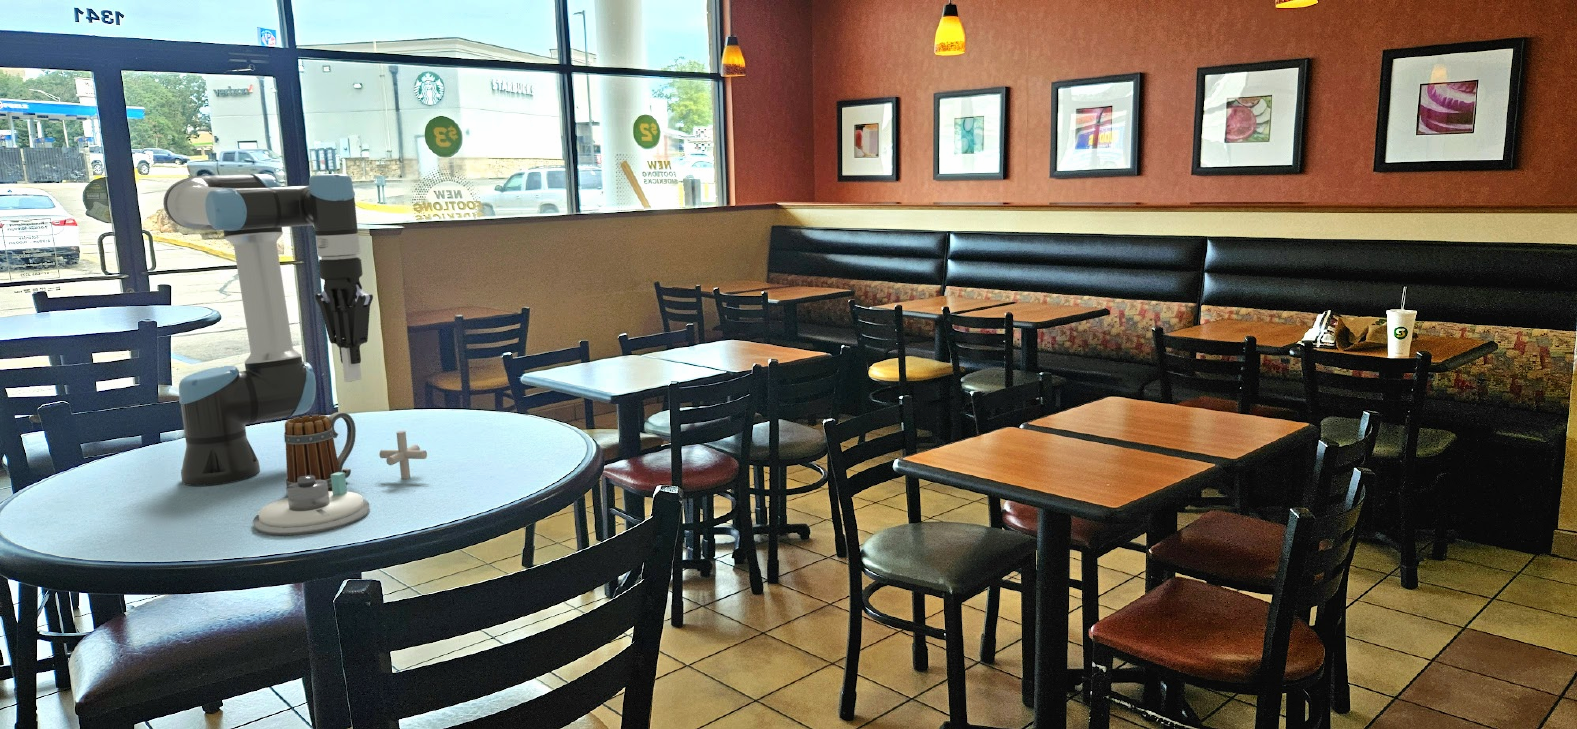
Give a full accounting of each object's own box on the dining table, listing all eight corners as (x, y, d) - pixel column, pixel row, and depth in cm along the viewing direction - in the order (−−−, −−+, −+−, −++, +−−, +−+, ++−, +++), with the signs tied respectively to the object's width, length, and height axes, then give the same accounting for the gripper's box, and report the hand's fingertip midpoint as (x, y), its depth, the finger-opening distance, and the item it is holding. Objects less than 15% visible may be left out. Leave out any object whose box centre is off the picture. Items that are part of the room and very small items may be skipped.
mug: (308, 500, 214) (299, 427, 211) (276, 494, 219) (267, 422, 217) (374, 480, 227) (367, 410, 224) (343, 474, 232) (335, 406, 230)
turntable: (246, 531, 192) (242, 503, 191) (274, 502, 209) (270, 476, 208) (352, 521, 195) (349, 494, 194) (371, 493, 212) (368, 468, 212)
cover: (284, 512, 198) (280, 483, 197) (295, 501, 205) (292, 473, 204) (323, 509, 199) (320, 480, 198) (334, 498, 206) (330, 470, 205)
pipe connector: (414, 485, 222) (409, 437, 220) (371, 484, 224) (365, 437, 222) (439, 471, 232) (434, 426, 230) (397, 470, 234) (392, 425, 232)
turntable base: (229, 528, 198) (228, 522, 198) (319, 497, 216) (318, 491, 215) (305, 541, 189) (304, 534, 189) (392, 508, 207) (392, 502, 207)
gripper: (298, 258, 202) (313, 382, 206) (348, 259, 196) (362, 385, 201) (331, 255, 209) (344, 375, 213) (380, 255, 203) (392, 378, 207)
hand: (353, 380), depth 207 cm, fingers closed
